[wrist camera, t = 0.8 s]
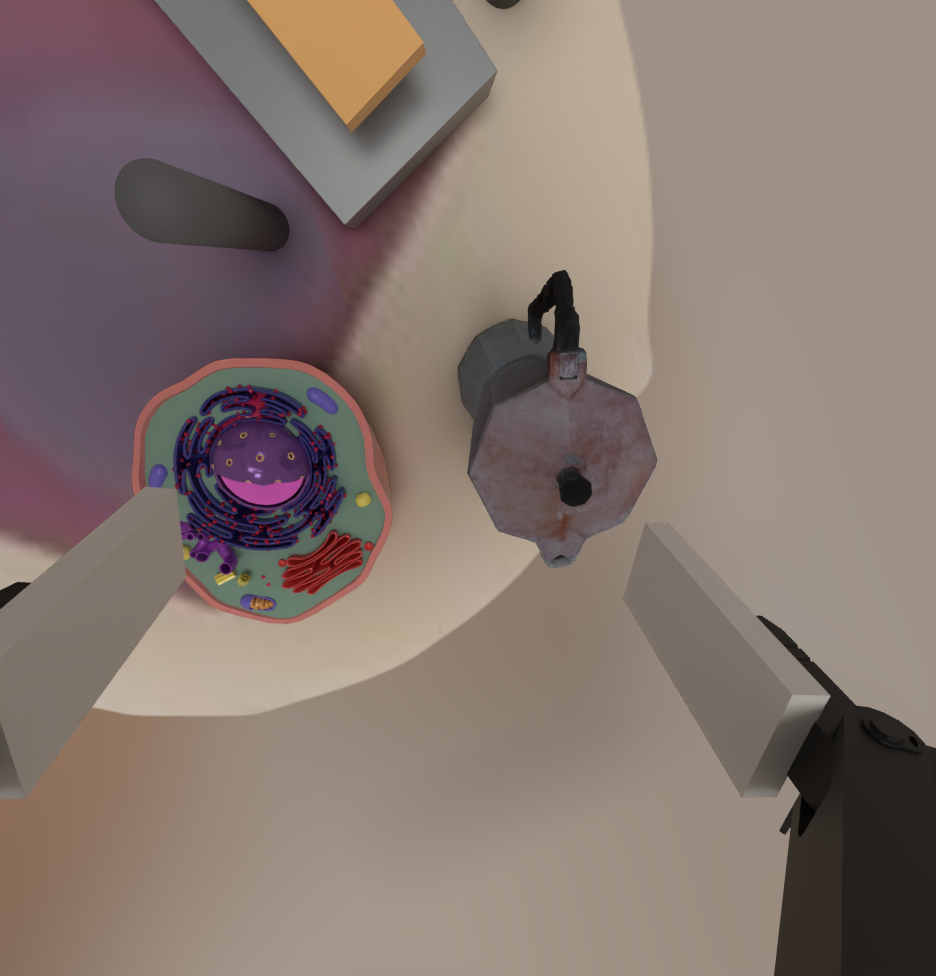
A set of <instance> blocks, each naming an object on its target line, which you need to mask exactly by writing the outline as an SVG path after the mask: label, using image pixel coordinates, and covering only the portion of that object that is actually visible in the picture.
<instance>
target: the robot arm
mask: <svg viewBox="0 0 936 976" xmlns="http://www.w3.org/2000/svg"><path fill="white" fill-rule="evenodd" d="M185 578H186V571H185V562H184V553H183V544H182V536H181V527H180V518H179V509H178V500H177V492H176V489H170V488H156V487H144V488H143V489H142V490H141V491H140V492H138V493H137V494H136V495H135V496H134V497H133V498H131V499H130V500H129V501H128V502H127V503H125V504H124V505H123V506H122V507H121V508H120V509H118V510H117V511H116V512H115V513H114V514H112V515H111V516H110V517H109V518H108V519H107V520H105V521H104V522H103V523H102V524H101V525H99V526H98V527H97V528H96V529H95V530H94V531H92V532H91V533H90V534H89V535H88V536H86V537H85V538H84V539H83V540H82V541H81V542H79V543H78V544H77V545H76V546H75V547H73V548H72V549H71V550H70V551H69V552H68V553H66V554H65V555H64V556H63V557H62V558H60V559H59V560H58V561H57V562H56V563H55V564H53V565H52V566H51V567H50V568H49V569H47V570H46V571H45V572H44V573H43V574H42V575H40V576H39V577H38V578H37V579H36V580H34V581H33V582H32V583H27V582H17V583H14V584H12V585H10V586H8V587H6V588H4V589H2V590H0V799H25V798H26V797H27V796H28V795H29V793H30V792H31V791H32V789H33V788H34V786H35V785H36V784H37V782H38V781H39V780H40V778H41V777H42V775H43V774H44V773H45V771H46V770H47V769H48V767H49V766H50V764H51V763H52V762H53V760H54V759H55V757H56V756H57V755H58V753H59V752H60V751H61V749H62V748H63V746H64V745H65V744H66V742H67V741H68V739H69V738H70V736H71V735H72V734H73V732H74V731H75V730H76V728H77V727H78V726H79V724H80V723H81V722H82V720H83V719H84V717H85V716H86V715H87V713H88V712H89V710H90V709H91V708H92V706H93V705H94V704H95V702H96V701H97V699H98V698H99V697H100V695H101V694H102V692H103V691H104V690H105V688H106V687H107V686H108V684H109V683H110V681H111V680H112V679H113V677H114V676H115V674H116V673H117V672H118V670H119V669H120V668H121V666H122V665H123V663H124V662H125V661H126V659H127V658H128V657H129V655H130V654H131V652H132V651H133V650H134V648H135V647H136V645H137V644H138V643H139V641H140V640H141V639H142V637H143V636H144V634H145V633H146V632H147V630H148V629H149V627H150V626H151V625H152V623H153V622H154V621H155V619H156V618H157V616H158V615H159V614H160V612H161V611H162V609H163V608H164V607H165V605H166V604H167V603H168V601H169V600H170V598H171V597H172V596H173V594H174V593H175V591H176V590H177V589H178V587H179V586H180V585H181V583H182V582H183V580H184V579H185ZM623 599H624V601H625V603H626V605H627V606H628V608H629V609H630V611H631V613H632V614H633V616H634V618H635V620H636V621H637V623H638V625H639V626H640V628H641V630H642V631H643V633H644V635H645V636H646V638H647V640H648V641H649V643H650V645H651V646H652V648H653V650H654V651H655V653H656V655H657V656H658V658H659V660H660V661H661V663H662V665H663V667H664V668H665V670H666V672H667V673H668V675H669V676H670V678H671V680H672V681H673V683H674V685H675V687H676V688H677V690H678V692H679V693H680V695H681V697H682V698H683V700H684V702H685V703H686V705H687V707H688V708H689V710H690V712H691V713H692V715H693V717H694V718H695V720H696V722H697V724H698V725H699V727H700V728H701V730H702V732H703V734H704V735H705V737H706V739H707V740H708V742H709V744H710V745H711V746H712V749H713V750H714V752H715V754H716V755H717V757H718V758H719V760H720V762H721V764H722V765H723V767H724V768H725V770H726V772H727V774H728V775H729V777H730V779H731V780H732V782H733V784H734V785H735V787H736V789H737V791H738V792H739V794H740V796H741V797H777V795H778V793H779V791H780V790H781V788H782V786H783V784H784V782H785V780H786V778H787V776H788V777H789V778H790V780H791V781H792V782H793V784H794V785H795V787H796V788H797V789H798V791H799V792H800V794H799V796H798V798H797V799H796V801H795V803H794V805H793V807H792V808H791V810H790V812H789V814H788V816H787V817H786V819H785V821H784V823H783V825H782V827H781V829H780V832H781V833H783V834H786V833H787V831H788V829H789V828H791V831H790V839H789V848H788V857H787V865H786V875H785V884H784V893H783V901H782V910H781V920H780V928H779V936H778V937H779V938H778V945H777V955H776V963H775V973H774V976H936V748H934V747H930V746H926V745H925V743H924V742H923V741H922V740H921V739H920V738H919V737H918V736H917V735H916V733H915V732H914V731H912V730H911V729H910V728H908V727H907V726H906V725H904V724H903V723H902V722H900V721H899V720H896V719H895V718H893V717H891V716H889V715H887V714H885V713H883V712H881V711H878V710H875V709H872V708H869V707H862V706H856V705H855V704H854V703H853V702H852V701H851V700H850V699H849V698H848V697H847V696H846V695H845V694H844V693H843V691H842V690H841V689H839V687H838V686H837V685H836V684H835V683H834V682H833V681H832V680H831V679H830V678H829V677H828V676H827V675H826V674H825V673H824V672H823V671H822V670H821V669H820V668H819V667H818V666H817V665H816V664H815V663H814V662H811V661H810V658H809V657H808V656H807V655H806V653H805V652H804V651H803V650H802V649H798V646H797V644H796V643H795V642H794V641H793V640H792V639H791V638H790V637H789V636H788V635H787V634H786V633H785V632H784V631H783V630H782V629H781V628H779V627H778V626H776V625H775V624H773V623H772V622H770V621H768V620H767V619H766V618H764V617H763V616H755V615H754V614H753V612H751V611H750V609H749V608H748V607H747V606H746V605H745V604H744V603H743V602H742V601H741V600H740V599H739V598H738V597H737V596H736V594H735V593H734V592H733V591H732V590H731V589H730V588H729V587H728V586H727V585H726V584H725V583H724V582H723V580H722V579H721V578H720V577H719V576H718V575H717V574H716V573H715V572H714V571H713V570H712V569H711V568H710V567H709V565H707V563H706V562H705V561H704V560H703V559H702V558H701V557H700V556H699V555H698V554H697V553H696V552H695V551H694V549H693V548H692V547H691V546H690V545H689V544H688V543H687V542H686V541H685V540H684V539H683V538H682V537H681V536H680V535H679V534H678V532H677V531H676V530H675V529H674V528H673V527H672V526H671V525H670V524H662V523H648V522H646V523H645V525H644V529H643V532H642V536H641V539H640V542H639V546H638V549H637V553H636V556H635V560H634V563H633V567H632V570H631V573H630V577H629V580H628V584H627V587H626V590H625V594H624V597H623Z"/></svg>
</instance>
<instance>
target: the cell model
mask: <svg viewBox="0 0 936 976" xmlns="http://www.w3.org/2000/svg"><path fill="white" fill-rule="evenodd" d="M132 485H133V492H134V494H135V495H136V494H137V493H138V492H140V491H141V490H142V489H143V488H144V487H156V488H170V489H176V492H177V500H178V509H179V518H180V527H181V536H182V544H183V553H184V562H185V571H186V578H185V579H184V580H185V581H186V582H187V583H188V584H189V585H190V586H191V587H192V588H193V589H194V590H195V591H196V592H197V593H198V594H199V595H200V596H201V597H202V598H203V599H204V600H206V601H207V602H208V603H209V604H210V605H211V606H213V607H215V608H217V609H219V610H221V611H224V612H228V613H231V614H235V615H238V616H242V617H247V618H251V619H255V620H259V621H263V622H267V623H282V624H289V623H293V622H298V621H301V620H303V619H305V618H307V617H309V616H312V615H313V614H315V613H317V612H319V611H320V610H322V609H324V608H325V607H327V606H328V605H330V604H332V603H333V602H335V601H336V600H338V599H340V598H341V597H343V596H344V595H346V594H348V593H349V592H351V591H352V590H354V589H356V588H357V587H358V586H359V585H360V584H362V583H363V582H364V581H365V580H366V578H367V577H368V575H369V573H370V571H371V569H372V567H373V565H374V563H375V560H376V558H377V556H378V555H379V553H380V551H381V549H382V547H383V545H384V544H385V542H386V539H387V537H388V535H389V532H390V528H391V524H392V508H391V499H390V487H389V480H388V473H387V467H386V463H385V459H384V457H383V454H382V452H381V449H380V447H379V444H378V442H377V439H376V436H375V433H374V431H373V429H372V427H371V425H370V424H369V422H368V421H367V419H366V418H365V416H364V415H363V413H362V411H361V409H360V408H359V406H358V405H357V403H356V401H355V400H354V399H353V398H352V397H351V396H350V395H349V393H348V392H347V391H346V390H345V389H344V388H343V387H342V386H341V385H339V384H338V383H337V382H336V381H334V380H333V379H332V378H331V377H330V376H328V375H327V374H326V373H324V372H322V371H320V370H319V369H317V368H315V367H313V366H312V365H309V364H306V363H302V362H299V361H293V360H287V359H269V358H230V359H224V360H219V361H214V362H212V363H210V364H208V365H206V366H204V367H203V368H201V369H200V370H198V371H197V372H195V373H194V374H192V375H191V376H189V377H188V378H186V379H185V380H183V381H181V382H179V383H177V384H175V385H173V386H171V387H168V388H166V389H164V390H162V391H160V392H159V393H158V394H156V395H155V396H154V397H153V398H151V400H150V401H149V402H148V403H147V405H146V406H145V407H144V408H143V410H142V412H141V414H140V416H139V418H138V420H137V424H136V428H135V432H134V456H133V467H132Z"/></svg>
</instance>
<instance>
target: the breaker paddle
mask: <svg viewBox="0 0 936 976" xmlns="http://www.w3.org/2000/svg"><path fill="white" fill-rule="evenodd" d="M246 1H247V2H248V3H249V4H250V6H251V7H252V8H253V9H254V11H255V12H256V13H257V14H258V16H259V17H260V18H261V19H262V21H263V22H264V23H265V24H266V26H267V27H268V28H269V29H270V31H271V32H272V33H273V35H274V36H275V37H276V38H277V40H278V41H279V42H280V43H281V45H282V46H283V47H284V48H285V50H286V51H287V52H288V53H289V55H290V56H291V57H292V58H293V60H294V61H295V62H296V63H297V65H298V66H299V67H300V68H301V70H302V71H303V72H304V73H305V75H306V76H307V77H308V79H309V80H310V81H311V82H312V84H313V85H314V86H315V87H316V89H317V90H318V91H319V92H320V94H321V95H322V96H323V97H324V99H325V100H326V101H327V102H328V104H329V105H330V106H331V107H332V109H333V110H334V111H335V112H336V114H337V115H338V116H339V117H340V119H341V120H342V121H343V123H344V124H345V125H346V126H347V128H348V129H349V130H350V131H351V133H352V132H353V131H354V130H355V129H356V128H357V127H358V126H359V125H360V124H361V122H362V121H363V120H364V119H365V118H366V117H367V116H368V115H369V114H370V113H371V112H372V111H373V110H374V109H375V108H376V107H377V106H378V104H379V103H380V102H381V101H382V100H383V99H384V98H385V97H386V96H387V95H388V94H389V93H390V92H391V91H392V90H393V89H394V87H395V86H396V85H397V84H398V83H399V82H400V81H401V80H402V79H403V78H404V77H405V76H406V75H407V74H408V73H409V72H410V71H411V69H412V68H413V67H414V66H415V65H416V64H417V63H418V62H419V61H420V60H421V59H422V58H423V57H424V56H425V55H426V51H425V46H424V42H423V41H422V39H421V38H420V37H419V35H418V34H417V33H416V31H415V30H414V29H413V27H412V26H411V24H410V23H409V22H408V20H407V19H406V18H405V16H404V15H403V14H402V12H401V11H400V10H399V8H398V7H397V6H396V4H395V3H394V1H393V0H246Z"/></svg>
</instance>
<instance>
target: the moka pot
mask: <svg viewBox="0 0 936 976" xmlns="http://www.w3.org/2000/svg"><path fill="white" fill-rule="evenodd" d="M554 305H555V306H556V308H555V311H554V314H555V331H554V336H553V335H552V334H551V332H550V331H549V330H548V329H547V328H546V327H543V326H542V324H541V320H542V316H543V314H544V313H545V312H549V309H551V308H552V307H553V306H554ZM579 333H580V325H579V315H578V314H577V313H576V311H575V307H573V287H572V285H571V280H570V278H569V275H568V273H567V272H566V271H565V270H563V271H559V272H555V273H554V274H552V277H550V278H549V280H548V281H547V282H546V285H544V287H543V288H542V291H541V293H540V294H539V295H537V298H535V299H534V301H533V302H532V303H531V304H529V307H528V322H524V321H519V320H515V319H509V320H507V321H504V322H501V323H499V324H497V325H494V326H492V327H490V328H488V329H486V330H485V331H483V332H482V333H480V334H479V335H477V336H476V337H475V338H474V340H473V341H472V343H471V344H470V346H469V348H468V350H467V351H466V353H465V355H464V357H463V359H462V361H461V363H460V364H459V367H458V378H459V385H460V392H461V399H462V403H463V405H464V406H465V408H466V409H467V411H468V412H469V414H470V415H471V417H472V418H473V420H474V424H473V430H472V439H471V448H470V456H469V465H468V472H467V473H468V475H469V477H470V479H471V481H472V483H473V485H474V487H475V489H476V491H477V492H478V494H479V496H480V498H481V500H482V502H483V504H484V505H485V507H486V509H487V511H488V513H489V515H490V517H491V519H492V521H493V523H494V525H495V527H496V528H497V530H498V531H500V532H503V533H506V534H509V535H512V536H516V537H519V538H523V539H527V540H529V541H532V542H535V543H536V544H537V546H538V548H539V550H540V553H541V556H542V558H543V560H544V562H545V563H546V565H547V566H548V567H550V568H557V567H565V566H567V565H571V564H573V562H574V561H575V559H576V557H577V555H578V553H579V551H580V549H581V547H582V545H583V543H584V542H585V540H586V539H587V538H589V537H590V536H593V535H595V534H597V533H600V532H602V531H605V530H608V529H610V528H612V527H614V526H617V525H619V524H621V523H623V522H624V521H625V519H626V518H627V517H628V516H629V514H630V512H631V511H632V509H633V507H634V505H635V503H636V501H637V499H638V498H639V495H640V494H641V492H642V490H643V488H644V487H645V485H646V483H647V481H648V480H649V478H650V476H651V474H652V472H653V471H654V469H655V467H656V463H657V457H656V454H655V451H654V448H653V445H652V442H651V439H650V436H649V433H648V430H647V427H646V424H645V422H644V418H643V415H642V412H641V408H640V406H639V403H638V401H637V398H636V397H635V396H634V395H632V394H630V393H627V392H625V391H623V390H621V389H619V388H616V387H614V386H612V385H610V384H608V383H606V382H603V381H601V380H599V379H597V378H595V377H593V376H591V375H589V374H586V372H587V358H586V352H585V350H584V349H583V348H579V347H578V346H579Z"/></svg>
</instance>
